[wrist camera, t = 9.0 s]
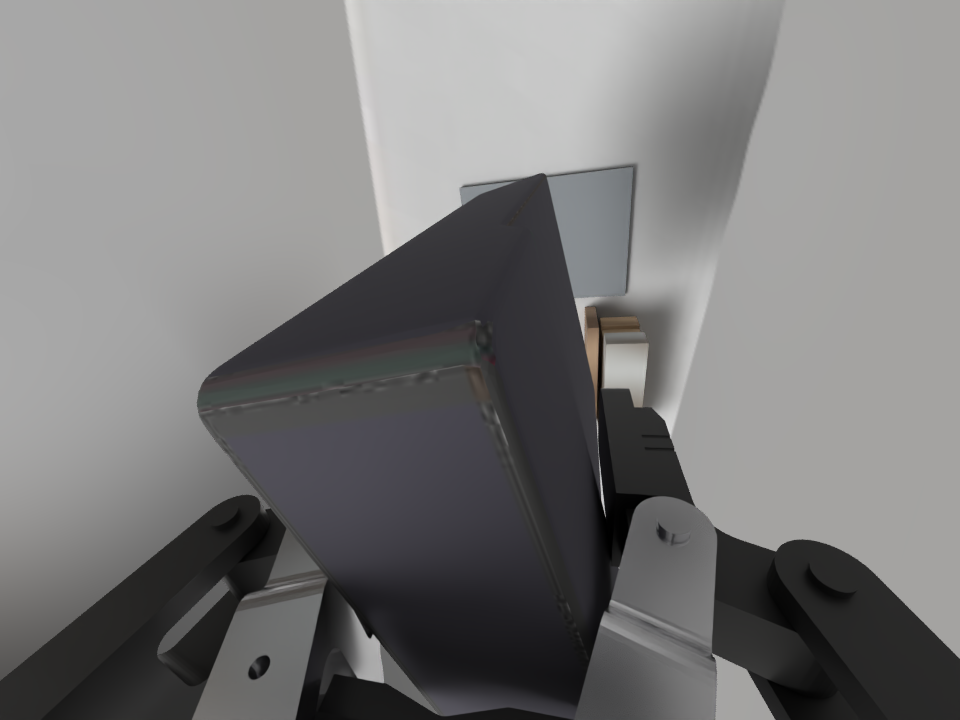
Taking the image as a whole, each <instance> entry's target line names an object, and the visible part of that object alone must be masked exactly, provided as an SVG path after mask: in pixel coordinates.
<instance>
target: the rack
mask: <svg viewBox="0 0 960 720" xmlns="http://www.w3.org/2000/svg"><path fill="white" fill-rule="evenodd" d="M598 343H599V325H598V320H597V314H596V309H595V307H585V349H586V353H587V358H588V362H589V367H590V371H591V376H592V380H593V385H594V391H595V407H596V411H597V377H598Z"/></svg>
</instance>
